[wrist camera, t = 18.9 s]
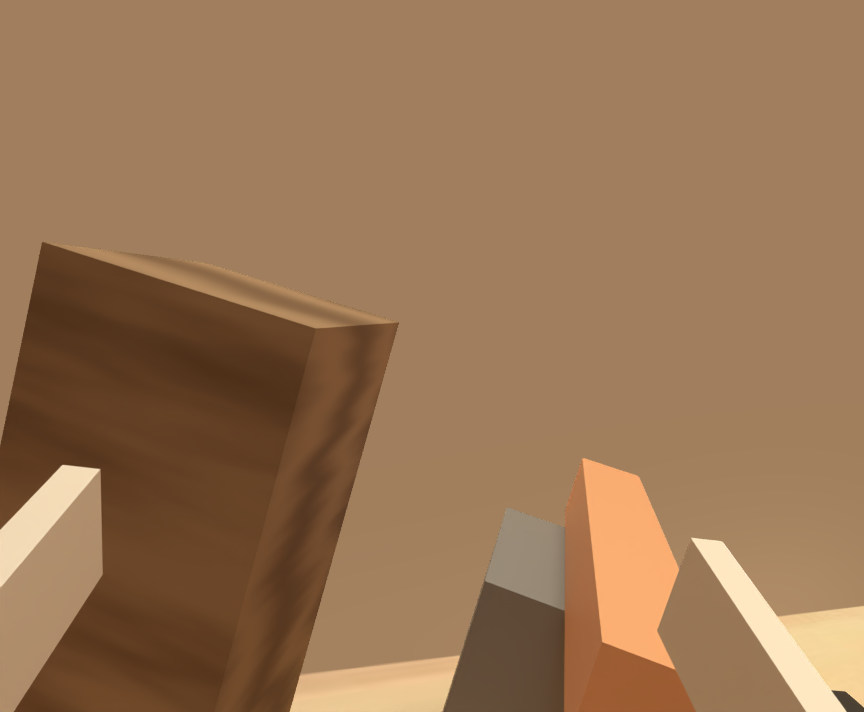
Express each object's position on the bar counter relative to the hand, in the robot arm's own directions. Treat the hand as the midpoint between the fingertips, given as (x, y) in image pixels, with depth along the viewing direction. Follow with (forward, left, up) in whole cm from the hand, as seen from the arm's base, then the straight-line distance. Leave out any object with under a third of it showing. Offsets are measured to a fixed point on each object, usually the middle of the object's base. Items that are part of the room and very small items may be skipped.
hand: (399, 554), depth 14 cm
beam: (-1, +21, -7) cm, 22 cm away
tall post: (-13, +5, -26) cm, 30 cm away
